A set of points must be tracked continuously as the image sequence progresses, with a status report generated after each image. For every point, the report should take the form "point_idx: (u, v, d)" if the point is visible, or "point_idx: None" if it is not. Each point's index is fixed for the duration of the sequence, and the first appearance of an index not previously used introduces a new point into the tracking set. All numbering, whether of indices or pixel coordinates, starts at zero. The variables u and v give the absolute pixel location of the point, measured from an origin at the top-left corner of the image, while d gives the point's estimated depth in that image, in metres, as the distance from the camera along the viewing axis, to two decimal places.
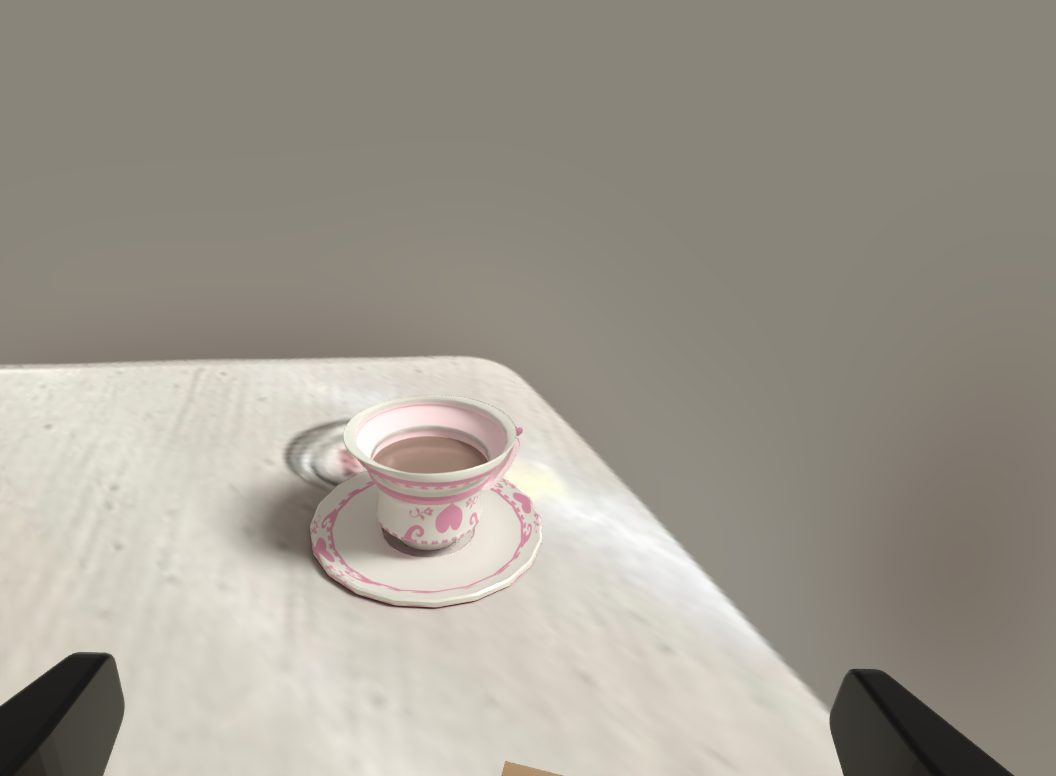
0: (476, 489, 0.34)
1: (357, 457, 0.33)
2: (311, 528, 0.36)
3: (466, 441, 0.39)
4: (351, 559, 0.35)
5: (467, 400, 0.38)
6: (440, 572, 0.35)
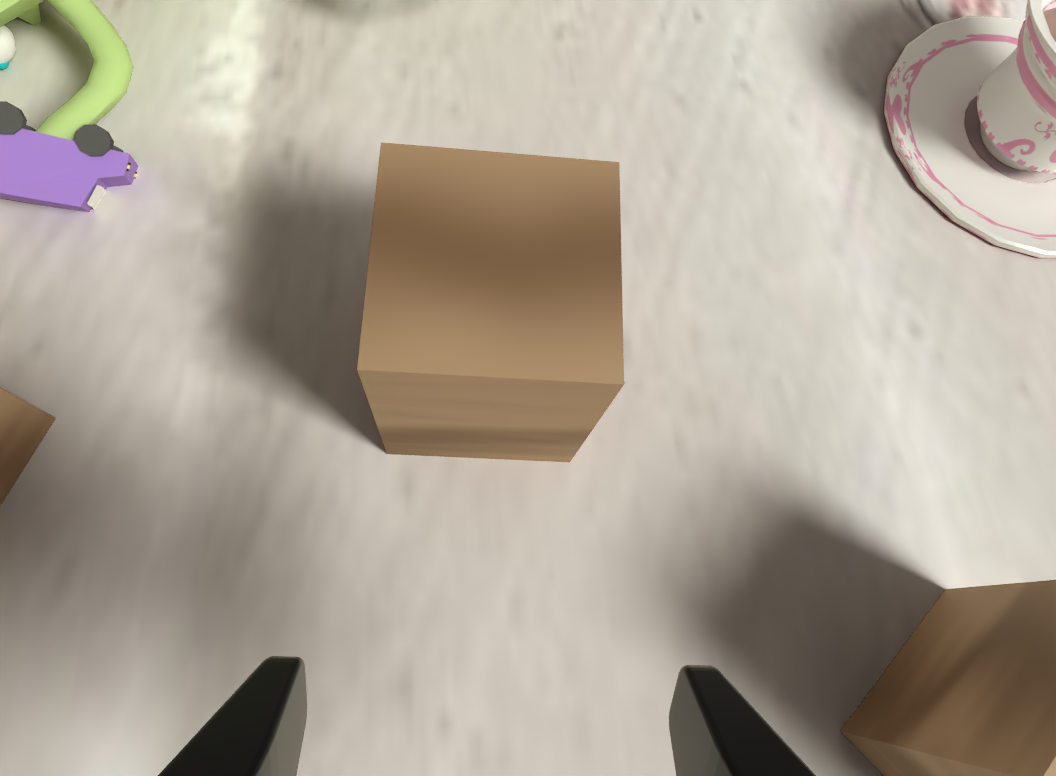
0: None
1: (1040, 32, 0.24)
2: (892, 77, 0.30)
3: None
4: (921, 138, 0.30)
5: None
6: (1012, 202, 0.29)
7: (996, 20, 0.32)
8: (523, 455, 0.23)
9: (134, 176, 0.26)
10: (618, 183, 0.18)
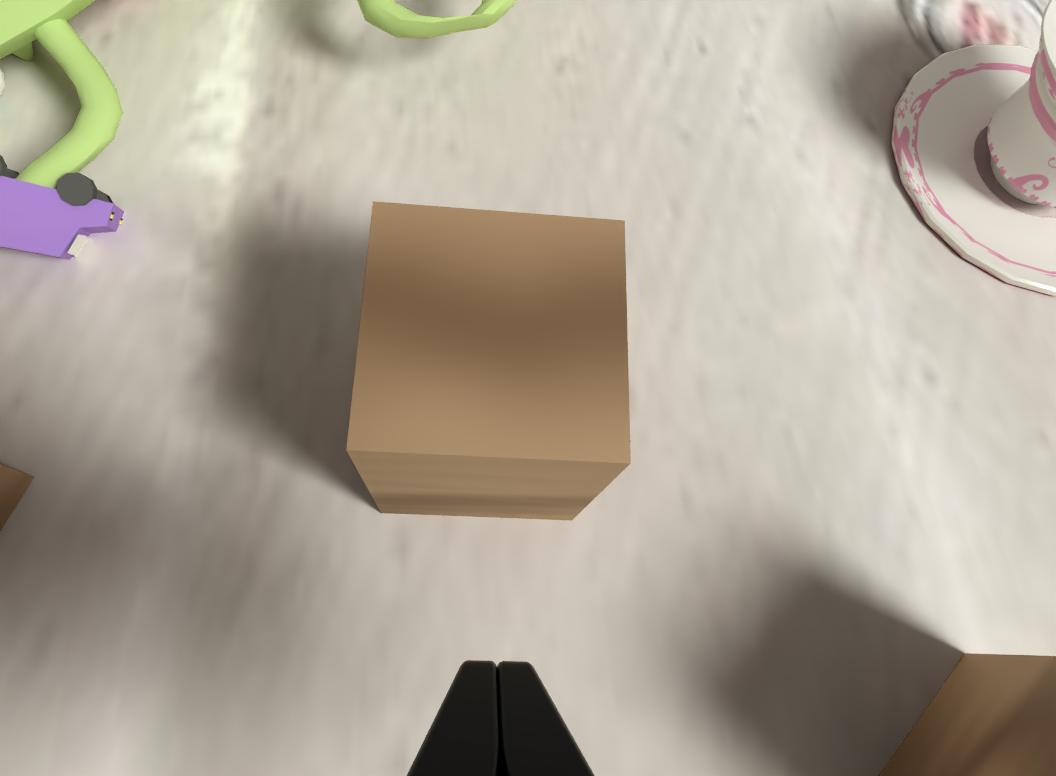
0: None
1: (1054, 68, 0.23)
2: (900, 108, 0.29)
3: None
4: (930, 172, 0.29)
5: None
6: (1024, 238, 0.28)
7: (1005, 48, 0.31)
8: (523, 515, 0.22)
9: (119, 223, 0.25)
10: (623, 242, 0.17)
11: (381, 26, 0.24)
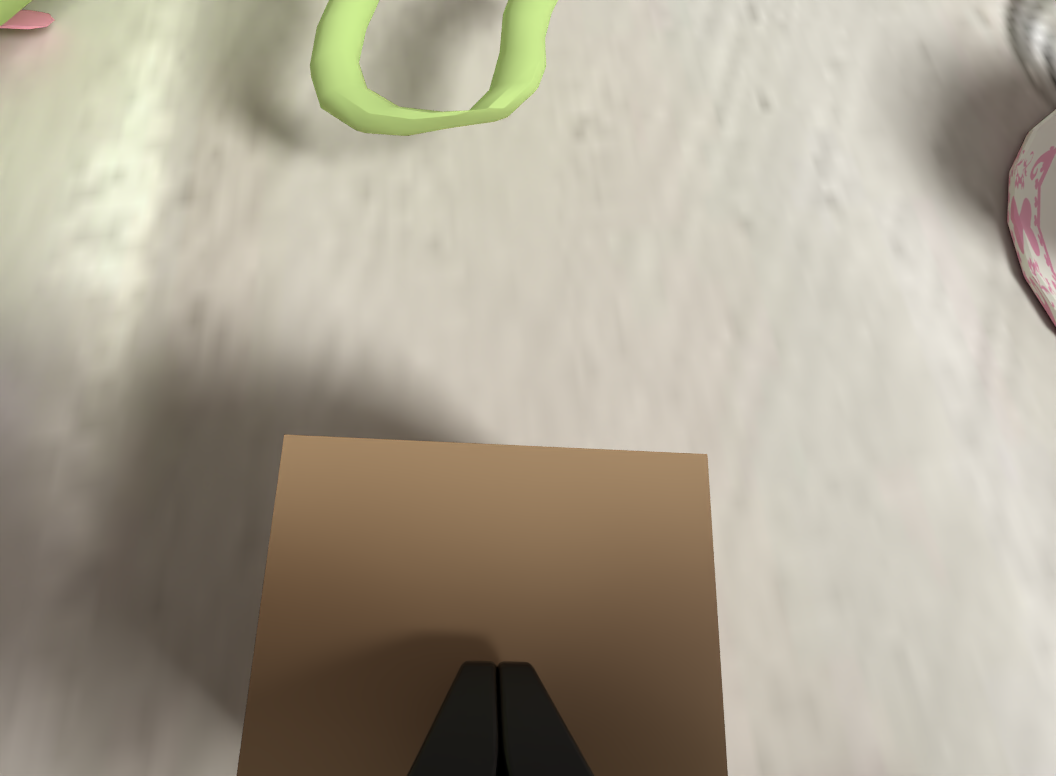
0: None
1: None
2: (1018, 174, 0.22)
3: None
4: None
5: None
6: None
7: None
8: None
9: None
10: (706, 492, 0.10)
11: (342, 119, 0.17)
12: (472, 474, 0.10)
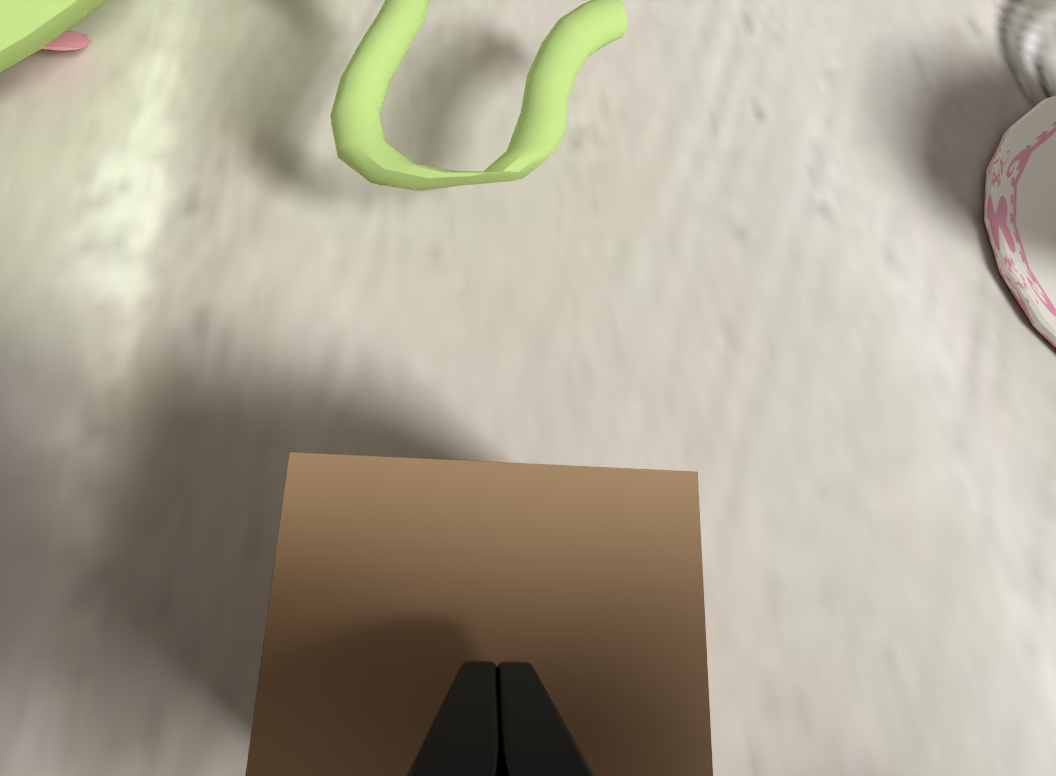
0: None
1: None
2: (994, 172, 0.23)
3: None
4: (1035, 256, 0.22)
5: None
6: None
7: None
8: None
9: None
10: (697, 508, 0.11)
11: (358, 170, 0.17)
12: (470, 491, 0.10)
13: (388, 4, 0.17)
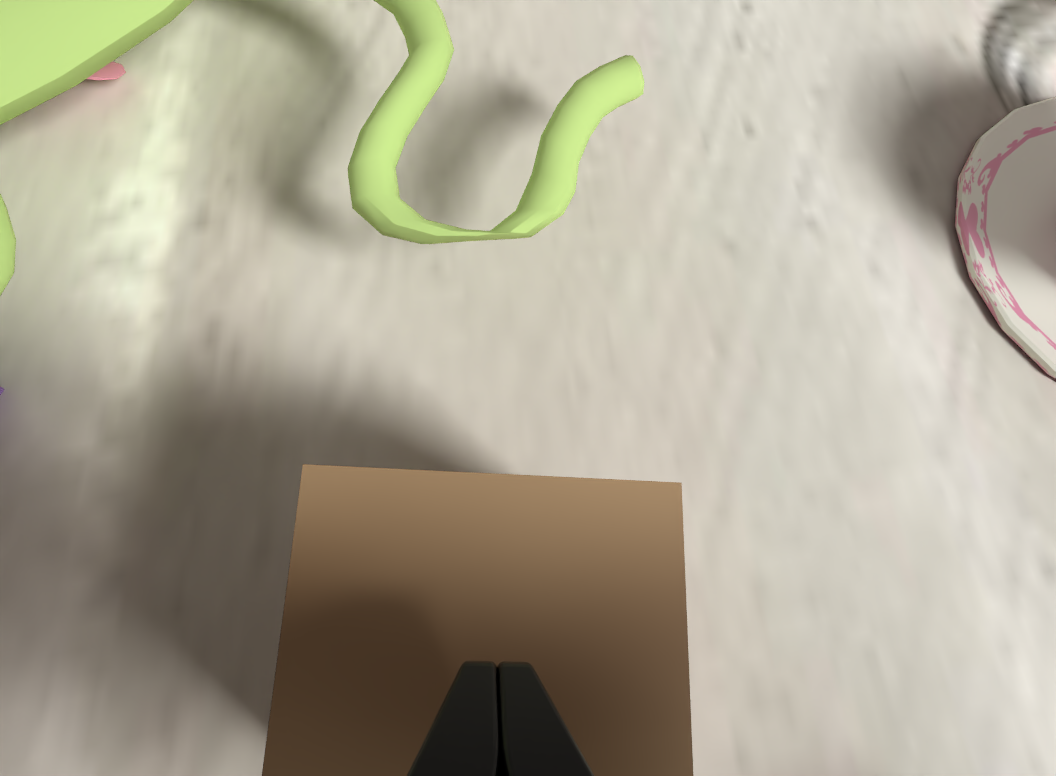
0: None
1: None
2: (965, 180, 0.24)
3: None
4: (1004, 261, 0.23)
5: None
6: None
7: None
8: None
9: None
10: (680, 517, 0.12)
11: (371, 222, 0.17)
12: (470, 500, 0.11)
13: (410, 62, 0.18)
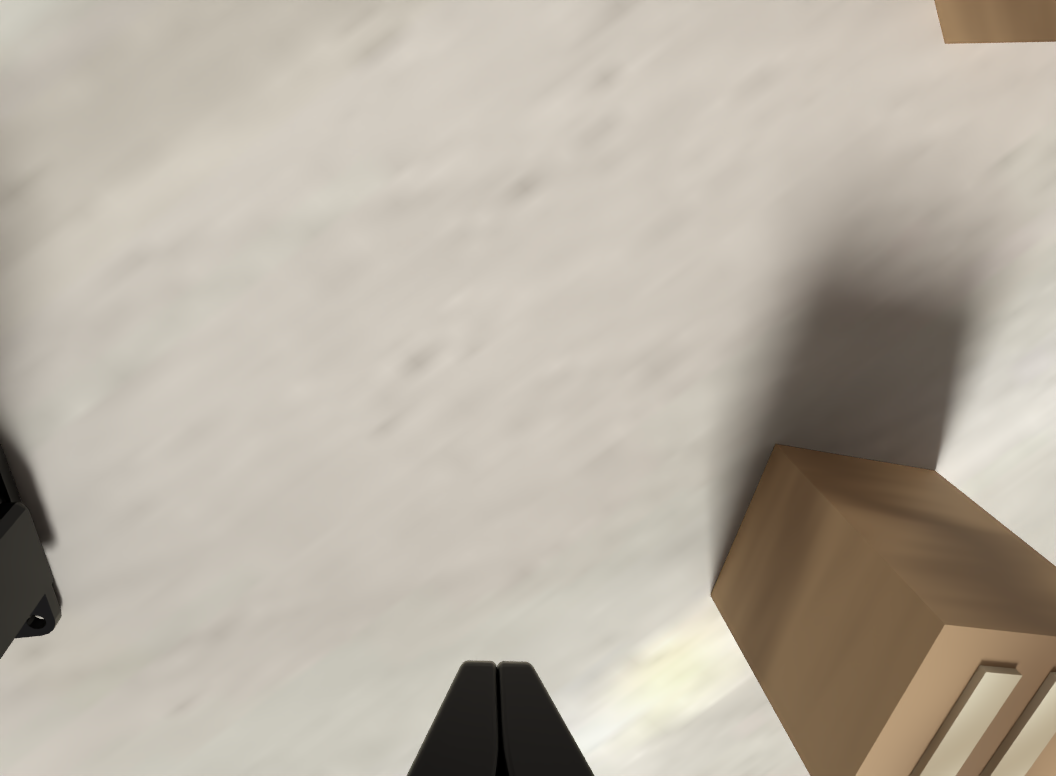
0: None
1: None
2: None
3: None
4: None
5: None
6: None
7: None
8: None
9: None
10: None
11: None
12: None
13: None
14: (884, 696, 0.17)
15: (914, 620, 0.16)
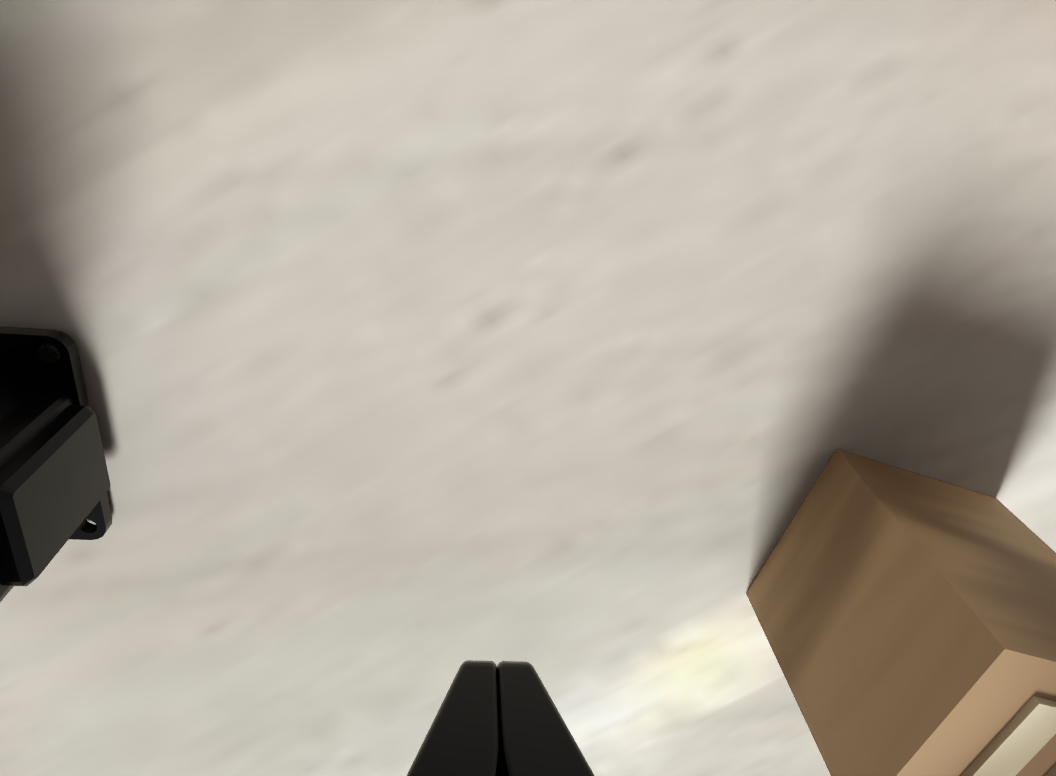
0: None
1: None
2: None
3: None
4: None
5: None
6: None
7: None
8: None
9: None
10: None
11: None
12: None
13: None
14: (927, 713, 0.16)
15: (971, 640, 0.16)
